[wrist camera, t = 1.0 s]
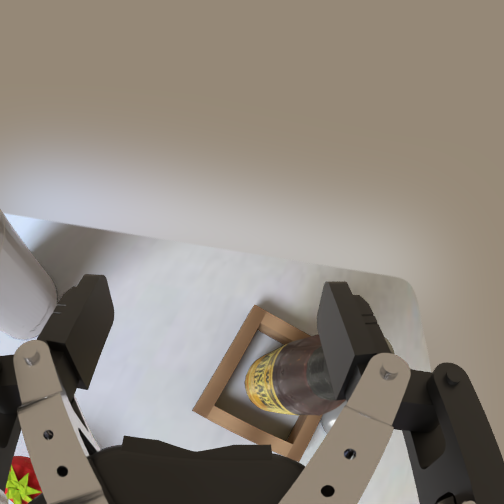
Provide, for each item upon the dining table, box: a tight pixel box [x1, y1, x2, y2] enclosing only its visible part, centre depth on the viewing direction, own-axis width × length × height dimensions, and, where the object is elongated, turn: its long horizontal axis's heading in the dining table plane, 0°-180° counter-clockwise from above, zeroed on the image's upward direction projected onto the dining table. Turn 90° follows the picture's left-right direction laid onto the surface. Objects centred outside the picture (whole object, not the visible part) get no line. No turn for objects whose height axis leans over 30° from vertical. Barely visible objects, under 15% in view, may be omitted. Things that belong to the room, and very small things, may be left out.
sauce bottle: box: [245, 335, 394, 416], centre depth 24 cm, size 6×6×20 cm
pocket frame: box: [192, 305, 322, 462], centre depth 32 cm, size 12×13×2 cm
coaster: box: [321, 401, 347, 434], centre depth 32 cm, size 7×7×1 cm
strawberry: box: [5, 456, 42, 504], centre depth 18 cm, size 6×8×10 cm
